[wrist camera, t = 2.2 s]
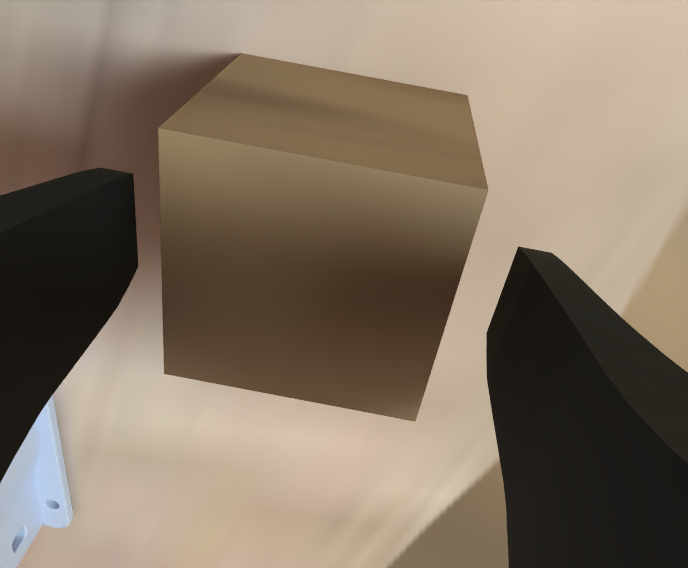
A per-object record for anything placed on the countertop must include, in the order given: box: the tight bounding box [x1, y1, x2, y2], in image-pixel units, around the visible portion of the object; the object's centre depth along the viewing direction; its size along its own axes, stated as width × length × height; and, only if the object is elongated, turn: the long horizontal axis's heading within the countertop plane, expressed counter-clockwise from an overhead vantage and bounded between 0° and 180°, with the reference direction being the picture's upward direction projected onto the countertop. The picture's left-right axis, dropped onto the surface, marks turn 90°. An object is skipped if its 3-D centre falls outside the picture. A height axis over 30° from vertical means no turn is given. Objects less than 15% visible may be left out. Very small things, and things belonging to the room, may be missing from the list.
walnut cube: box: [158, 53, 488, 421], centre depth 12 cm, size 5×5×5 cm
